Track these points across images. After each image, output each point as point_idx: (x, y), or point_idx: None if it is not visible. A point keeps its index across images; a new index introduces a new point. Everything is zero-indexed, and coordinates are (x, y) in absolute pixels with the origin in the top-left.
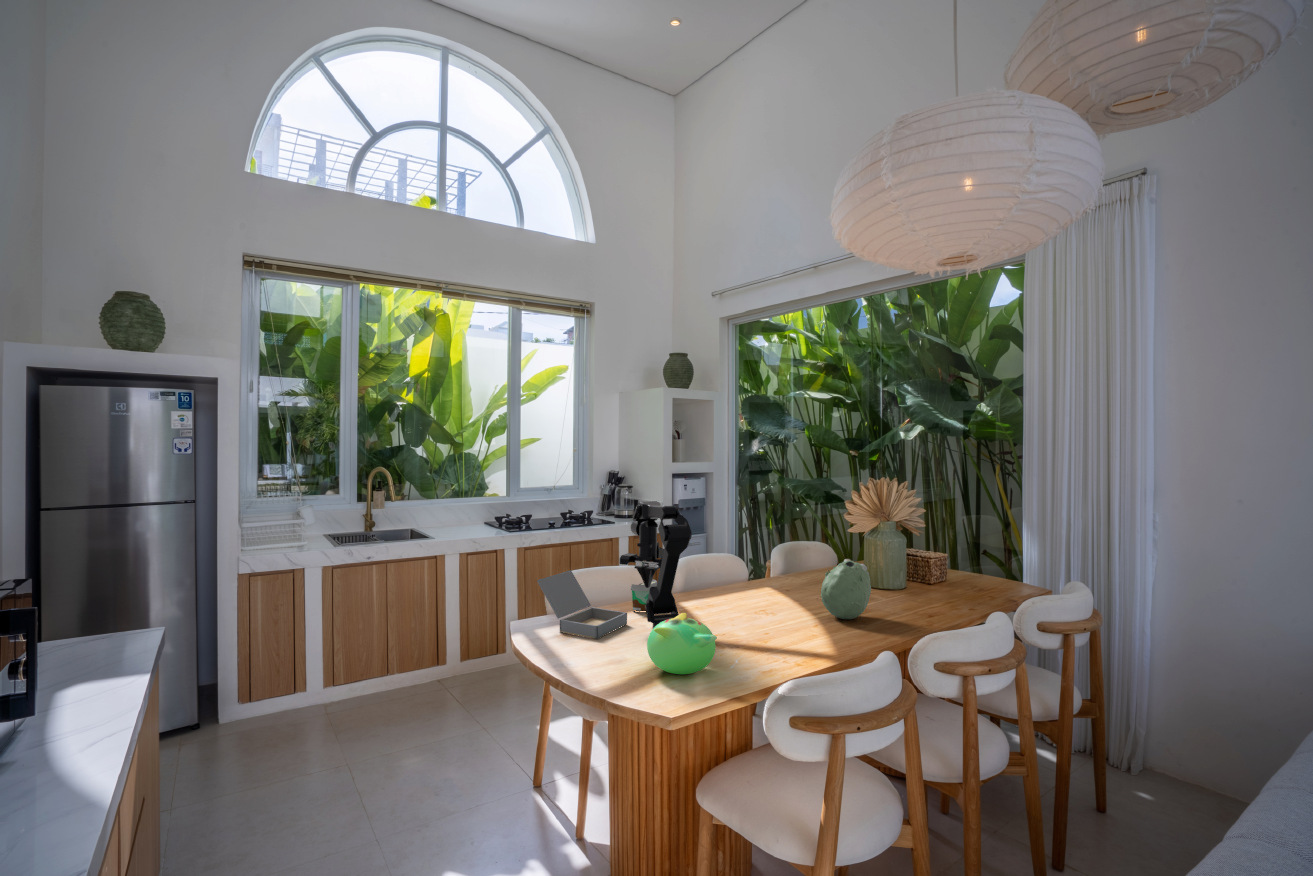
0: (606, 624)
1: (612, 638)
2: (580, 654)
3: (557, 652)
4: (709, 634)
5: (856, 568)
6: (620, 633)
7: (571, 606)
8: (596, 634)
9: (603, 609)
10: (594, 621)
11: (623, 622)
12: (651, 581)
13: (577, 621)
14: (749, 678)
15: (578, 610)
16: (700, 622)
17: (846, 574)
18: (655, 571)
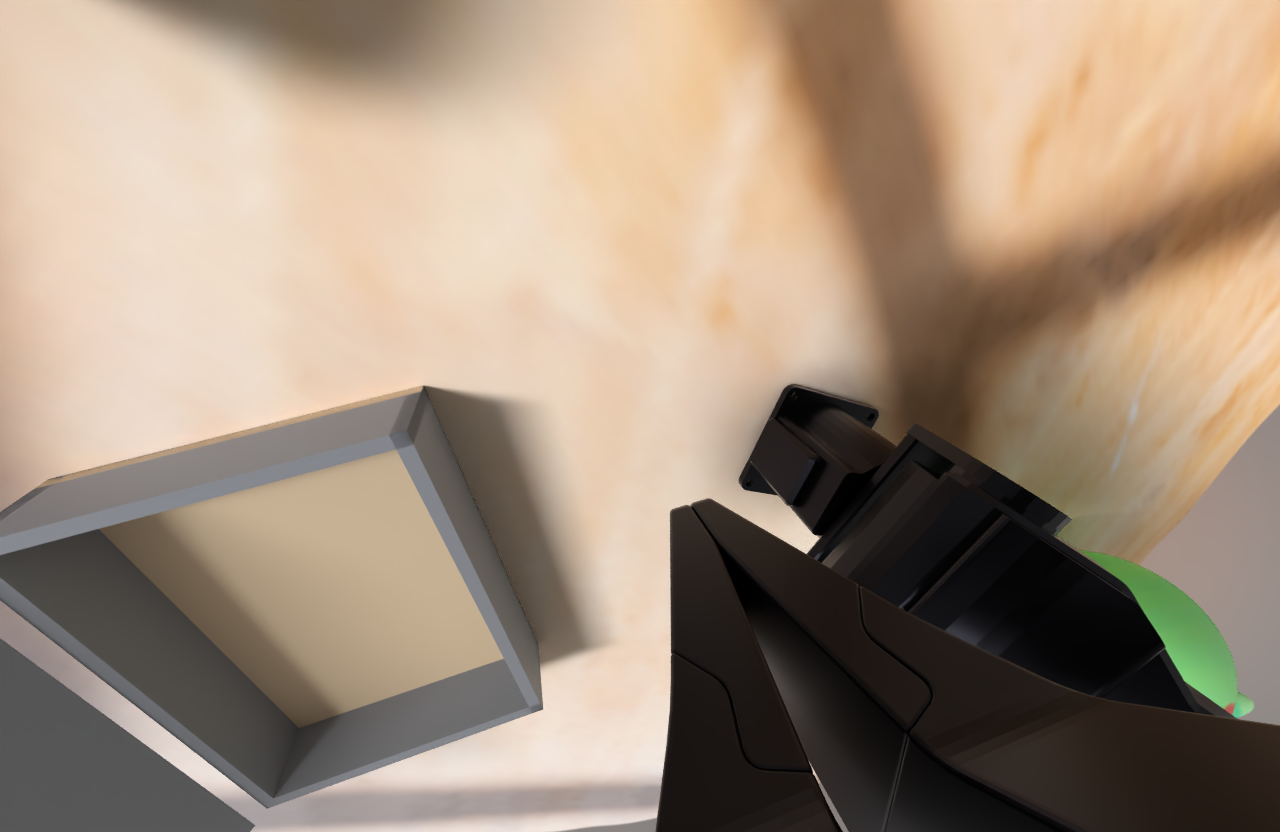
0: (512, 634)
1: (581, 588)
2: (630, 736)
3: (551, 780)
4: (1237, 715)
5: None
6: (547, 521)
7: (68, 796)
8: (538, 668)
9: (134, 518)
10: (208, 534)
11: (440, 446)
12: (785, 546)
13: (196, 653)
14: (1160, 493)
15: (82, 700)
16: (1234, 703)
17: None
18: (1073, 706)
